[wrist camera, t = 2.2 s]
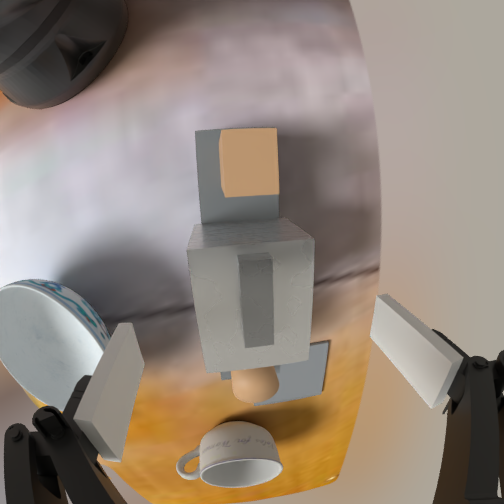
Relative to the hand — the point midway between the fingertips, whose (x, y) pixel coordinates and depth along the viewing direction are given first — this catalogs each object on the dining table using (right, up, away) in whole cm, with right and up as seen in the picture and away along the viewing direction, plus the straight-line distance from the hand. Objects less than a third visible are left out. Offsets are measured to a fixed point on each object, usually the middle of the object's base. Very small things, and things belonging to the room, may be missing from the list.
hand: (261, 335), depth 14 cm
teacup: (-4, -22, +20) cm, 30 cm away
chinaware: (-20, -3, +12) cm, 24 cm away
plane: (-2, +4, +12) cm, 13 cm away
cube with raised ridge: (-1, +3, +7) cm, 8 cm away
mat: (+4, -11, +17) cm, 21 cm away
